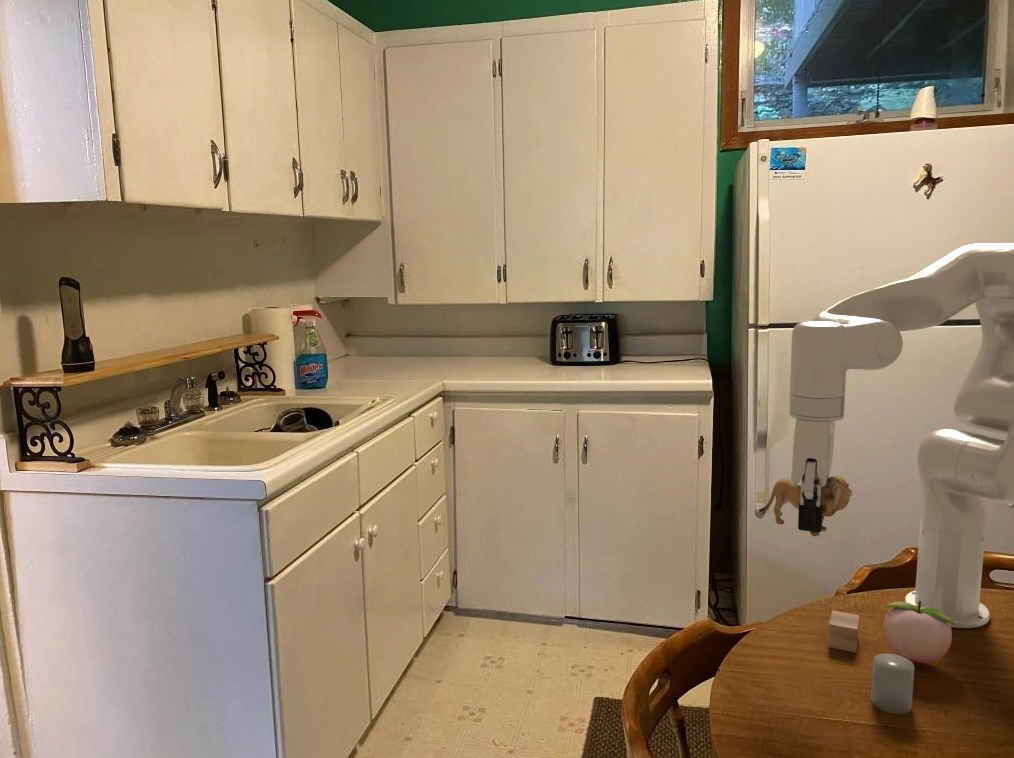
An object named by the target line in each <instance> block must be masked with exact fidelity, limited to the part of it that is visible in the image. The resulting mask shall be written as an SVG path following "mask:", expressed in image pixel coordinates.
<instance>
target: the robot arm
mask: <svg viewBox="0 0 1014 758" xmlns="http://www.w3.org/2000/svg"><path fill="white" fill-rule="evenodd" d="M973 304H974V305H975V308H976V311H977V314H978V318H979V323H980V328H981V344H980V347H979V350H978V352H977V354H976V356H975V358H974V360H973V362H972V364H971V367H969V371H968V372H967V374H966V377H964V378H965V379H964V380H963V383H962V385H961V387H960V388H959V390H958V393H957V395H956V398H955V401H954V404H953V412H954V415H955V417H956V418H957V420H958V421H959V422H961V424H964V425H966V426H968V427H970V428H974V429H978V430H983V431H986V432H990V433H995V434H999V435H1003V436H1007V437H1006V439H1000V438H994V437H991V436H987V435H984V434H980V433H979V434H978V433H974V432H969V431H965V430H960V429H956V428H953V429H952V428H943V429H937V430H934V431H932V432H930V433H928V434H927V435H926V436H925V437H924V438H923V439H922V440H921V443H920V444H919V447H918V451H917V466H918V475H919V479H920V486H921V487H920V490H921V503H920V505H921V509H920V519H919V520H920V521H919V522H920V523H919V534H918V548H917V549H918V550H917V564H916V576H915V577H916V579H915V589H914V590H913V591H910V592H908V593H907V594H906V595H905V596H904V602H906V603H910V604H912V605H914V606H915V607H917V608H918V602H919V601H921V606H920V608H921V607H927V608H933V609H937V610H939V611H941V612H943V613H945V614H946V615H947V616H949V617H950V618H951V619H952V620H953V622H954V623H955V625H953V624H951V623H949V624H950V627H951V628H956V629H973V628H974V629H975V628H979V627H982V626H984V625H986V624H988V622H989V620H990V610H989V609H988V608H987V607H986V605H984V604H983V603H981V602H980V599H981V597H980V596H981V589H982V588H981V586H982V575H983V565H984V564H983V563H984V551H985V550H984V549H985V537H986V530H987V529H986V528H987V513H986V508H985V505H984V503H983V500H982V498H986V499H988V500H991V501H995V502H999V503H1003V504H1008V505H1009V504H1011V505H1013V504H1014V242H1002V243H1001V242H993V243H992V242H991V243H989V242H986V243H985V242H983V243H972V244H967V245H963V246H961V247H959V248H957V249H955V250H953V251H951V252H950V253H948V254H947V255H945V256H943V257H941V258H940V259H938V260H936V261H935V262H933V263H932V264H930V265H929V266H927V267H925V268H924V269H922V270H920V271H917V273H915V274H914V275H912V276H910V277H908V278H905V279H902V280H897V281H894V282H891V283H887V284H886V285H882V286H879V287H875V288H872V289H869V290H866V291H862V292H860V293H857V294H854V295H851V296H848V297H847V298H844V299H842V300H840V301H838V302H837V303H835V304H833V305H831V306H830V307H828V308H826V309H825V310H823V311H822V312H820V313H819V314H818V315H816V316H815V317H814V318H813V319H812V321H811V320H810V321H803V322H799V323H797V324H796V325H794V327H793V329H792V333H791V345H790V346H791V352H790V378H789V379H790V381H789V383H790V385H789V406H788V407H789V411H788V412H789V413H788V415H789V417H792V418H794V419H795V423H794V424H795V425H794V434H793V444H792V446H793V448H792V459H791V460H792V462H791V465H792V466H791V474H790V475H791V476H790V480H791V482H792V484H794V485H796V484H800V482H801V484H800V486H801V496H800V503H799V510H798V514H797V515H798V518H797V522H798V523H797V529H798V530H799V531H805V532H809V533H810V532H818V533H821V532H822V531H821V530H822V526H823V523H822V510H823V506H822V505H821V493H822V488H823V487H825V486H826V485H827V482H828V478H829V477H830V475H831V471H832V463H833V459H834V458H833V457H834V449H835V448H834V446H835V445H834V444H835V432H836V431H835V430H836V429H835V428H836V421H840V420H843V419H844V418H845V409H846V408H845V405H846V388H847V386H846V385H847V384H846V382H847V371H848V370H862V371H863V370H864V371H876V370H881V369H885V368H887V367H889V366H890V365H892V364H894V362H895V361H897V360H898V358H899V357H900V355H901V353H902V350H903V347H904V344H903V337H902V333H901V332H908V331H909V332H911V331H918V330H924V329H929V328H933V327H937V326H939V325H942V324H944V323H945V322H947V321H948V320H950V319H951V318H953V317H955V316H956V315H957V314H959V313H960V312H962V311H963V310H965V309H967V308H969V307H970V306H972V305H973ZM815 482H819V485H817V484H814V483H815ZM814 489H817V494H816V492H814Z"/></svg>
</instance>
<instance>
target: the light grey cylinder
mask: <svg viewBox="0 0 1014 758" xmlns="http://www.w3.org/2000/svg"><path fill="white" fill-rule="evenodd" d="M872 663H873V664H872V678H871V679H872V681H871V696H870V701H871V702H872V704H873V705H874V706H875V707H876V708H878V709H880V710H882V711H884V712H886V713H889V714H895V715H903V714H908V713H910V712H911V711H912V707H913V706H912V705H913V695H914V694H913V691H914V680H915V679H914V678H915V677H914V676H915V665H914V662H912V661H910V660H908V659H906V658H904V657H901V656H900V655H898V654H895V653H879V654H877V655H875V656H874V657H873V662H872Z"/></svg>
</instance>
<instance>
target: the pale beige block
mask: <svg viewBox="0 0 1014 758" xmlns="http://www.w3.org/2000/svg"><path fill="white" fill-rule="evenodd" d="M859 624H860V614H854V613H848V612H843V611H837V610H831V616H830V619H829V625H828V627H829V628H828V648H831V649H836V650H841V651H846V652H851V653H857V650H858V649H857V648H858V641H859V626H860V625H859Z"/></svg>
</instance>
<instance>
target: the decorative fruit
mask: <svg viewBox="0 0 1014 758" xmlns="http://www.w3.org/2000/svg"><path fill="white" fill-rule="evenodd" d="M920 606H921V601H919V602H918V608H917V607H915V606H914V605H912V604H910V603H906V602H905V601H894V602H891V603H888V604H885V606H884V608H891V609H889V610H888V612H887V614H886V615H885V618H884V621H883V625H882V626H883V628H882V629H883V634H884V637H885V639H886V641H887V643H888V645H889V647H890V648H891V649H892V650H893V651H894V653H895V654H896V655H898V656H901V657H904V658H906V659H908V660H909V661H911V662H912V663H913V664H919V663H921V664H922V663H924V664H925V663H926V664H927V663H933V662H935V661H936V662H937V661H939V660H940V659H942V657H944V656H945V654H946V653H947V652H948V651H949V650H950V647H951V644H952V640H953V637H952V636H953V633H952V627H950V624H949V623H951V624H953V625H955V623H954V622H953V620H952V619H951V618H950V617H949V616H947V615H946V614H945V613H943V612H941V611H939V610H937V609H933V608H927V607H921V608H920Z"/></svg>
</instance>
